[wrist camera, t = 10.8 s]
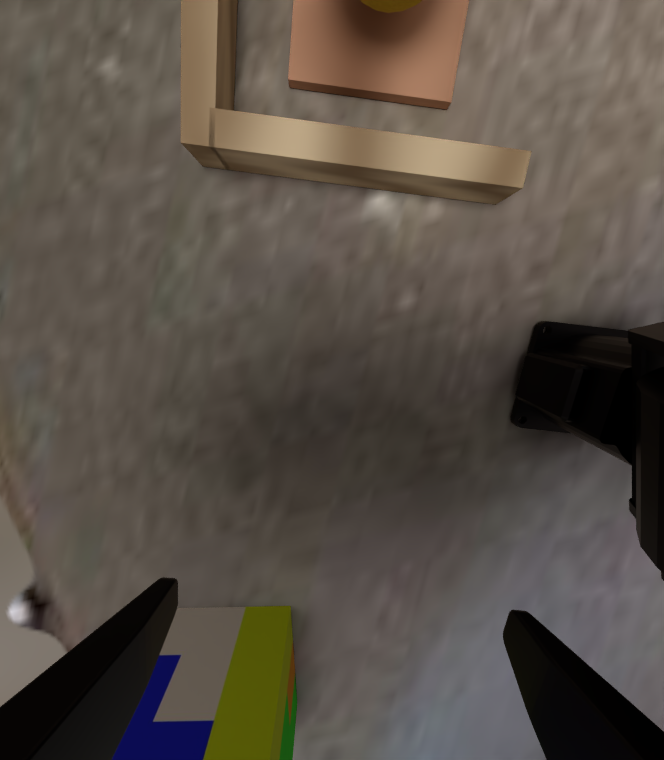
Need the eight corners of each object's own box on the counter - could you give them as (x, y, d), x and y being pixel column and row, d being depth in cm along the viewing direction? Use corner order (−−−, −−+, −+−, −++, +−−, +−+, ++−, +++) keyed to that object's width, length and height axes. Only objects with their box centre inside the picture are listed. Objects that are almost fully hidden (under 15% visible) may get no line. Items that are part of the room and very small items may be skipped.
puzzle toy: (157, 607, 24) (35, 821, 14) (290, 604, 23) (261, 817, 14) (176, 704, 26) (83, 945, 16) (297, 702, 26) (276, 942, 16)
